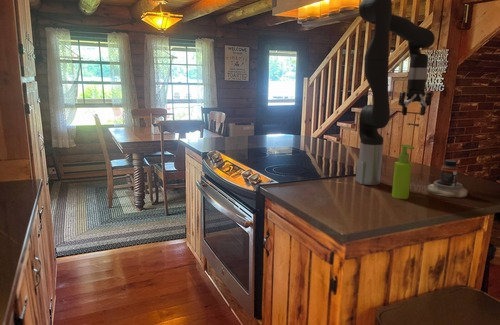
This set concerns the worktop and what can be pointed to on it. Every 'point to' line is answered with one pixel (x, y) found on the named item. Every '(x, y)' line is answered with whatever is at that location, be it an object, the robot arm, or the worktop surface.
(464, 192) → the collar plate
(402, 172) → the soap dispenser
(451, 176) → the supplement bottle
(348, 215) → the worktop surface
